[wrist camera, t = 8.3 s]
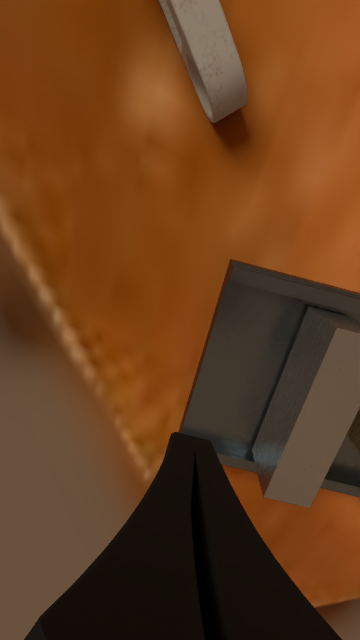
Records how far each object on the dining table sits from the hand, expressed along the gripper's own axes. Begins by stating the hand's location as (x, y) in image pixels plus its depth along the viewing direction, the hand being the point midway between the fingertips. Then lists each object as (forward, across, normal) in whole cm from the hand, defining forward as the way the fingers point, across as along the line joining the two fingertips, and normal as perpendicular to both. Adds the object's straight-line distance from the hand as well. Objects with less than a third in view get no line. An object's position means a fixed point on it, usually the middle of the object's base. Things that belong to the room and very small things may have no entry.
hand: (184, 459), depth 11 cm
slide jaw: (+8, -7, 0) cm, 10 cm away
